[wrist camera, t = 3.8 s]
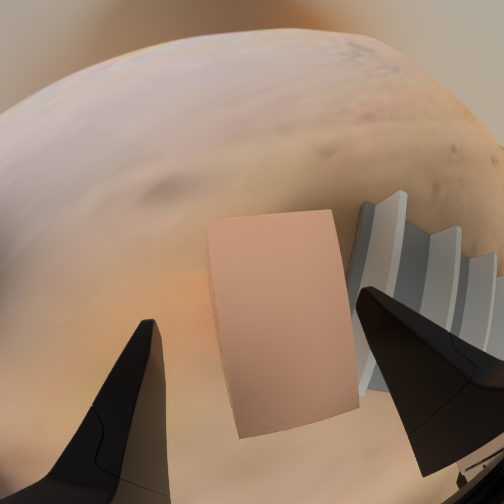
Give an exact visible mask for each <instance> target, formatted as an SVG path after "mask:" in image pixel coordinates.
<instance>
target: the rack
mask: <svg viewBox="0 0 504 504" xmlns="http://www.w3.org/2000/svg"><path fill="white" fill-rule="evenodd" d="M406 206H407V193H405V192H404V191H402V190H399V191H397V192H396V193H394V194H393V195H391V196H390V197H388V198H387V199H385V200H384V201H382V202H380V203H379V204H377V205H376V206H375V205H373V204H371V203H369V202H367V201H366V202H364V203H363V204H362V206H361V212H360V217H359V223H358V228H357V233H356V238H355V242H354V247H353V252H352V256H351V261H350V265H349V269H348V273H347V277H346V287H347V293H348V300H349V306H350V313H351V321H352V329H353V337H354V346H355V355H356V365H357V377H358V390H359V396H361V397H364V396H365V393H366V390H367V389H369V390H376V391H383V392H389V389H388V387H387V385H386V383H385V380H384V378H383V376H382V374H381V371H380V369H379V367H378V365H377V363H376V361H375V358H374V356H373V354H372V352H371V350H370V347H369V345H368V343H367V340H366V337H365V334H364V332H363V329H362V326H361V323H360V320H359V318H358V315H357V312H356V309H355V305H356V301H357V298H358V295H359V292H360V290H361V288H363V287H367V286H373V287H375V288H377V289H378V290H380V291H382V292H383V293H385V294H387V295H389V296H390V297H392V298H394V299H396V300H397V301H399V302H401V303H402V304H404V305H406V306H407V307H409V308H411V309H413V310H414V311H416V312H418V313H419V314H421V315H423V316H424V317H426V318H428V319H429V320H431V321H433V322H434V323H436V324H438V325H439V326H441V327H442V328H444V329H446V330H447V331H448V332H451V333H452V334H454V335H456V336H457V337H459V338H461V339H462V340H464V341H466V342H467V343H469V344H471V345H473V346H475V347H477V348H479V349H480V350H482V351H484V352H486V353H488V354H490V355H492V356H494V357H496V358H498V359H500V360H503V361H504V276H501V277H496V276H497V254H496V253H494V252H493V253H490V254H486V255H482V256H479V257H475V258H471V259H469V258H467V257H466V256H464V255H463V254H461V238H462V228H461V227H459V226H458V225H455V226H453V227H450V228H448V229H445V230H443V231H440V232H438V233H435V234H433V235H429V234H428V233H426V232H424V231H422V230H420V229H419V228H417V227H415V226H413V225H411V224H410V223H408V222H406V221H405V217H406Z"/></svg>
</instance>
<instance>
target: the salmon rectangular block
mask: <svg viewBox="0 0 504 504" xmlns="http://www.w3.org/2000/svg"><path fill="white" fill-rule="evenodd" d="M206 239H207V266H208V279H209V287H210V294H211V302H212V309H213V316H214V323H215V329H216V336H217V342H218V349H219V355H220V361H221V365H222V370H223V374H224V379H225V383H226V387H227V392H228V396H229V400H230V404H231V408H232V412H233V416H234V420H235V424H236V428H237V432H238V436H239V439H242V438H248V437H254V436H259V435H264V434H269V433H274V432H278V431H283V430H287V429H291V428H295V427H299V426H303V425H306V424H310V423H313V422H317V421H320V420H324V419H327V418H330V417H333V416H336V415H339V414H342V413H345V412H348V411H351V410H353V409H356V408H359V390H358V377H357V365H356V355H355V346H354V337H353V329H352V321H351V313H350V306H349V300H348V293H347V287H346V281H345V275H344V269H343V264H342V258H341V253H340V248H339V243H338V238H337V233H336V228H335V223H334V219H333V214H332V210H331V209H328V210H313V211H299V212H286V213H274V214H263V215H251V216H241V217H230V218H221V219H211V220H206Z"/></svg>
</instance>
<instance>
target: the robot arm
mask: <svg viewBox="0 0 504 504" xmlns="http://www.w3.org/2000/svg"><path fill="white" fill-rule="evenodd" d="M355 309H356V312H357V315H358V318H359V320H360V323H361V326H362V329H363V332H364V334H365V337H366V340H367V343H368V345H369V347H370V350H371V352H372V354H373V356H374V358H375V361H376V363H377V365H378V367H379V369H380V371H381V374H382V376H383V378H384V380H385V383H386V385H387V387H388V389H389V392H390V394H391V396H392V399H393V401H394V404H395V406H396V408H397V411H398V413H399V416H400V418H401V420H402V423H403V425H404V428H405V431H406V433H407V435H408V439H409V441H410V444H411V447H412V449H413V452H414V455H415V457H416V460H417V463H418V466H419V469H420V471H421V474H422V476H423V477H426V476H428V475H430V474H433V473H435V472H437V471H439V470H441V469H443V468H445V467H447V466H449V465H451V464H453V463H455V462H456V463H457V465H458V468H459V470H460V472H459V475H458V479H457V482H456V483H457V485H458V487H459V491H457V492H456V493H455V494H453V495H452V496H451V497H450V498H448V499H447V500H446V501H444V502H443V503H442V504H504V361H503V360H500V359H498V358H496V357H494V356H492V355H490V354H488V353H486V352H484V351H482V350H480V349H479V348H477V347H475V346H473V345H471V344H469V343H467V342H466V341H464V340H462V339H461V338H459V337H457V336H456V335H454V334H452V333H451V332H448V331H447V330H446V329H444V328H442V327H441V326H439V325H438V324H436V323H434V322H433V321H431V320H429V319H428V318H426V317H424V316H423V315H421V314H419V313H418V312H416V311H414V310H413V309H411V308H409V307H407V306H406V305H404V304H402V303H401V302H399V301H397V300H396V299H394V298H392V297H390V296H389V295H387V294H385V293H383V292H382V291H380V290H378V289H377V288H375V287H373V286H367V287H363V288H361V290H360V292H359V295H358V298H357V301H356V305H355ZM92 405H93V406H91V407H90V409H89V411H88V412H87V414H86V416H85V418H84V420H83V421H82V423H81V425H80V427H79V428H78V430H77V431H76V433H75V435H74V436H73V438H72V439H71V441H70V442H69V444H68V445H67V447H66V448H65V450H64V451H63V453H62V454H61V456H60V457H59V459H58V460H57V462H56V463H55V465H54V466H53V468H52V469H51V470H50V472H49V473H48V474H47V475H46V476H45V477H44V478H42V479H41V480H39V481H38V482H36V483H34V484H32V485H30V486H28V487H26V488H24V489H22V490H20V491H18V492H16V493H14V494H12V495H10V496H7V497H5V498H3V499H1V500H0V504H171V499H170V490H169V477H168V462H167V441H166V382H165V371H164V361H163V349H162V339H161V335H160V332H159V329H158V326H157V324H156V321H155V320H154V319H146V320H142V321H141V322H140V324H139V325H138V327H137V329H136V330H135V332H134V333H133V335H132V337H131V338H130V340H129V341H128V343H127V345H126V346H125V348H124V350H123V351H122V353H121V355H120V356H119V358H118V360H117V361H116V363H115V365H114V366H113V368H112V370H111V372H110V373H109V375H108V377H107V379H106V380H105V382H104V384H103V386H102V387H101V389H100V391H99V393H98V394H97V396H96V398H95V400H94V402H93V403H92Z"/></svg>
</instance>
